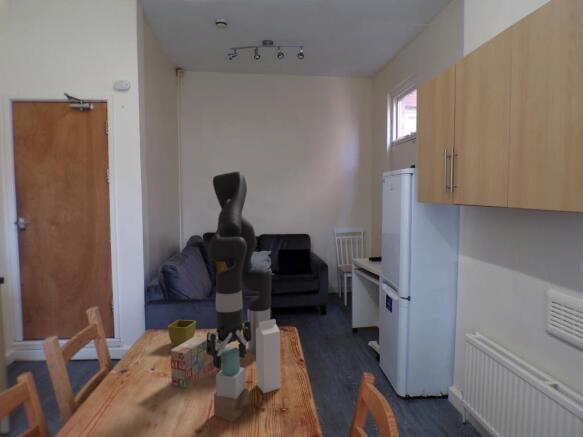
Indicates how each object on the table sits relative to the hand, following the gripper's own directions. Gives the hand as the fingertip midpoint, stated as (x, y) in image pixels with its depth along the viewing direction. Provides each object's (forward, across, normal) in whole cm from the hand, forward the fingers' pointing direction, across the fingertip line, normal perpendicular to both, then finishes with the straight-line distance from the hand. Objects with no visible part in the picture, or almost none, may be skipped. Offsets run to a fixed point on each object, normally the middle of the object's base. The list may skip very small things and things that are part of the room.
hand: (230, 362), depth 98 cm
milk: (+15, -16, -2) cm, 22 cm away
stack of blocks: (+15, -7, -27) cm, 32 cm away
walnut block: (+15, 0, 0) cm, 15 cm away
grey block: (+9, 0, 0) cm, 9 cm away
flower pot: (+15, -16, -54) cm, 58 cm away
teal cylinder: (+3, 0, 0) cm, 3 cm away
